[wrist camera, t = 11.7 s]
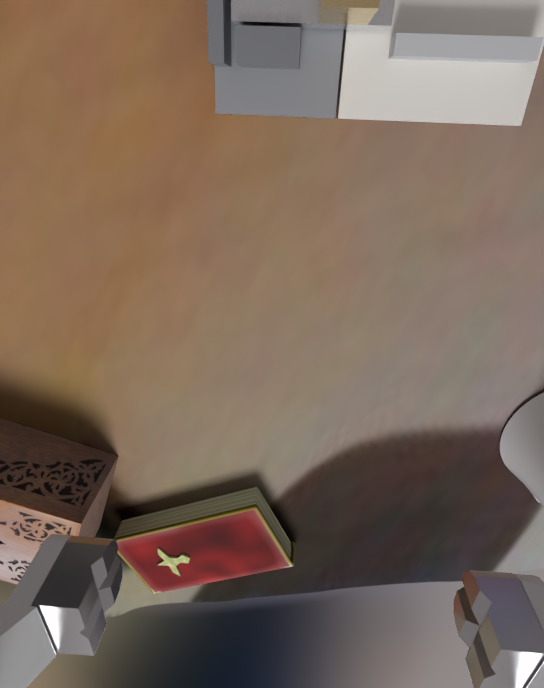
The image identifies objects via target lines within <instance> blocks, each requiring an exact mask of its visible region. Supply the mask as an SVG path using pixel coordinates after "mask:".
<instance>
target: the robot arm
mask: <svg viewBox="0 0 544 688" xmlns="http://www.w3.org/2000/svg"><path fill="white" fill-rule="evenodd" d="M500 453H501V457H502V460H503V462H504V464H505V465H506V466H507V468H508V469H509V470H510V471H511V472H512V473H513V474H514V475H516V476H517V477H518V478H519V479H520V480H521V481H522V482H523V483H524V485H525V486H526V487H527V488H528V489H529V490H530V492H531V493H532V495H533V496H534V497H535V499H536V500H537V501H538V502H539V503H541V505H542V506H543V507H544V392H543V393H541V394H540V395H538V396H536V397H534V398H533V399H531V400H530V401H528V402H527V403H526V404H524V405H523V406H522V407H521V408H520V409H519V410H518V411H517V412H516V413H515V414H514V415H513V416H512V417H511V419H510V420H509V421H508V423H507V425H506V426H505V428H504V431H503V433H502V436H501V440H500ZM118 549H119V548H118V545H117V541H116V540H112V539H102V538H91V537H81V536H74V535H62V534H51V535H50V536H49V537H48V538H47V539H46V540H44V542H43V544H42V545H41V547H40V549H39V550H38V552H37V553H36V555H35V557H34V558H33V560H32V562H31V563H30V565H29V566H28V568H27V570H26V571H25V573H24V575H23V576H22V578H21V579H20V581H19V583H18V584H17V586H16V588H15V589H14V591H13V593H12V594H11V596H10V597H9V599H8V601H7V602H6V603H0V688H26V687H27V686H28V685H29V684H30V683H31V682H32V681H33V680H34V679H35V678H36V677H37V675H38V674H39V673H40V672H41V671H42V670H43V669H44V668H45V667H46V666H47V665H48V664H49V663H50V662H51V661H52V660H53V659H54V658H55V657H56V653H65V654H78V655H93V656H94V654H95V652H96V649H97V647H98V644H99V642H100V639H101V637H102V634H103V632H104V629H105V627H106V624H107V623H106V619H105V615H104V612H105V611H107V610H108V609H109V608H110V607H111V606H112V605H113V604H114V603H115V601H116V598H117V596H118V593H119V590H120V585H121V581H122V573H123V567H122V562H121V560H120V559H119V558H118V557H116V554H117V551H118ZM462 581H463V584H464V587H463V588H461V589H460V590H458V591H457V593H456V596H455V599H454V617H455V623H456V627H457V631H458V634H459V637H460V638H461V639H462V640H463V641H464V642H465V643H466V645H467V646H468V647H469V650H468V653H467V656H466V662H467V666H468V669H469V672H470V676H471V679H472V683H473V686H474V688H544V582H543V581H542V580H541V579H540V578H539V577H537V576H532V575H519V574H512V573H501V572H486V571H472V570H469V571H467V572H465V574H464V576H463V578H462Z"/></svg>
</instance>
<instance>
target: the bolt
mask: <svg viewBox="0 0 544 688" xmlns="http://www.w3.org/2000/svg"><path fill="white" fill-rule="evenodd" d="M394 5H395V0H231V21H232V22H233V23H234V25H235V26H236V25H247V26H280V27H301V28H304V29H337V30H369V31H387V30H388V29H389V28H390V27H391V26H392V19H393V12H394Z"/></svg>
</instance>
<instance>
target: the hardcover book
mask: <svg viewBox="0 0 544 688" xmlns="http://www.w3.org/2000/svg"><path fill="white" fill-rule="evenodd" d="M112 540H116V541H117V545H118V548H119V549H118V551H117V553H118V554H119V556H120V557H121V558H122V559H123V560H124V561H125V562H126V563H127V564H128V566H129V567H130V568H131V569H132V570H133V571H134V572H135V573H136V575H137V576H138V577H139V578H140V579H141V580H142V581H143V582H144V584H145V585H146V586H147V587H148V588H149V589H150V590H151V591H152V593H153V594H154V593H159V592H164V591H169V590H174V589H179V588H185V587H190V586H195V585H200V584H205V583H210V582H215V581H220V580H225V579H230V578H236V577H241V576H246V575H251V574H256V573H261V572H266V571H271V570H276V569H281V568H287V567H292V566H293V565H294V556H295V546H294V542H290V540H289V538H288V537H287V535H286V533H285V532H284V530H283V528H282V527H281V525H280V523H279V522H278V520H277V518H276V517H275V515H274V513H273V512H272V510H271V508H270V507H269V505H268V503H267V502H266V500H265V498H264V497H263V495H262V493H261V492H260V490H259V488H258V487H253V488H249V489H245V490H241V491H237V492H233V493H229V494H225V495H221V496H217V497H213V498H209V499H205V500H201V501H197V502H193V503H189V504H186V505H182V506H178V507H174V508H170V509H166V510H162V511H158V512H154V513H150V514H146V515H142V516H138V517H134V518H130V519H126V520H122V522H121V524H120V526H119V528H118V531H117V533H116V535H115V537H114V538H113V539H112Z"/></svg>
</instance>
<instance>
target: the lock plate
mask: <svg viewBox="0 0 544 688" xmlns="http://www.w3.org/2000/svg"><path fill="white" fill-rule="evenodd" d="M207 25H208V57H209V63H210V64H212V65H214V66H215V105H216V113H217V114H242V115H266V116H291V117H316V118H335V116H336V106H337V95H338V84H339V74H340V63H341V53H342V42H343V32H344V30H337V29H304V28H301V27H280V26H247V25H236V26H235V25H234V23H233V22H232V21H231V0H207ZM543 46H544V0H395V5H394V12H393V19H392V26H391V27H390V28H389V29H388V30H387V31H369V30H345V34H344V44H343V54H342V65H341V75H340V86H339V96H338V107H337V117H336V118H340V119H365V120H389V121H414V122H438V123H463V124H488V125H512V126H521V123H522V120H523V116H524V113H525V109H526V106H527V102H528V99H529V95H530V92H531V88H532V85H533V81H534V78H535V74H536V70H537V67H538V63H539V60H540V56H541V53H542V49H543Z"/></svg>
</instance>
